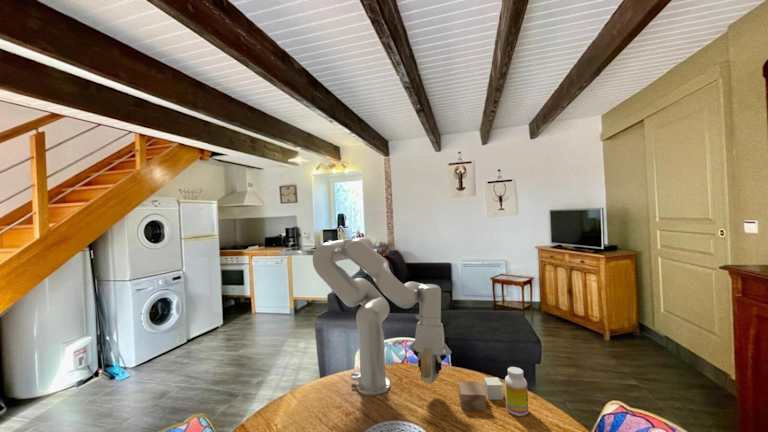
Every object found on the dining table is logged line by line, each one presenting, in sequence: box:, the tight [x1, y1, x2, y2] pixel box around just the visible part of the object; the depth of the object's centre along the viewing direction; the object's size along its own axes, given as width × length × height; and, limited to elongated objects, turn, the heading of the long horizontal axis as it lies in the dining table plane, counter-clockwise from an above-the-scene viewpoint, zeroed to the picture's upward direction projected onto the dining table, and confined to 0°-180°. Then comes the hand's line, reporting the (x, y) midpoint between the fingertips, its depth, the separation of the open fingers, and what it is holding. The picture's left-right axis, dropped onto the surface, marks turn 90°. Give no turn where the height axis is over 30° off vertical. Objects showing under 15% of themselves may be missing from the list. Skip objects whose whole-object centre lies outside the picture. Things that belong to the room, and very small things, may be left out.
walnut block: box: [457, 380, 487, 411], centre depth 104 cm, size 8×8×5 cm
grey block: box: [483, 376, 504, 401], centre depth 108 cm, size 5×5×5 cm
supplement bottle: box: [504, 366, 529, 417], centre depth 99 cm, size 7×7×13 cm
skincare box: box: [420, 348, 440, 384], centre depth 110 cm, size 6×4×12 cm
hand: (429, 370), depth 110 cm, fingers closed on skincare box, 5 cm apart
